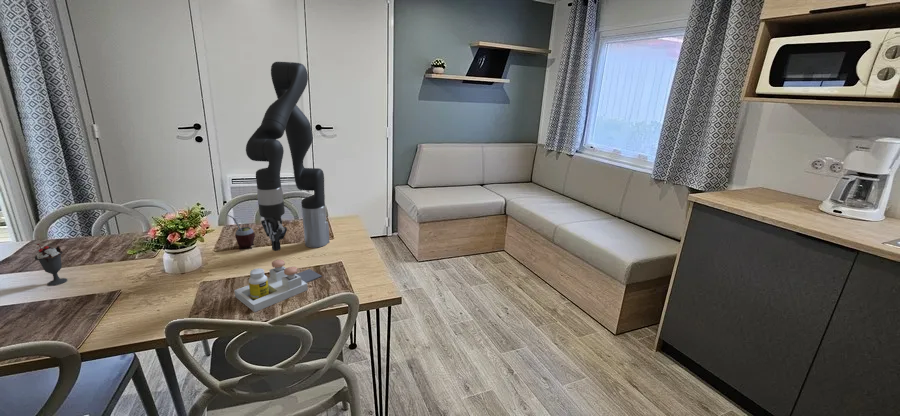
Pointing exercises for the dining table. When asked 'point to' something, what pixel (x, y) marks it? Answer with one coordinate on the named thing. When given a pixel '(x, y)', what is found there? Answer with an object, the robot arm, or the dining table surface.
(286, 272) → the plunger
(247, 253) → the dining table surface
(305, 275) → the pad
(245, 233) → the mate gourd
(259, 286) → the supplement bottle
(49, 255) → the sundae
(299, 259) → the dining table surface
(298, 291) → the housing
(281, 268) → the plunger
